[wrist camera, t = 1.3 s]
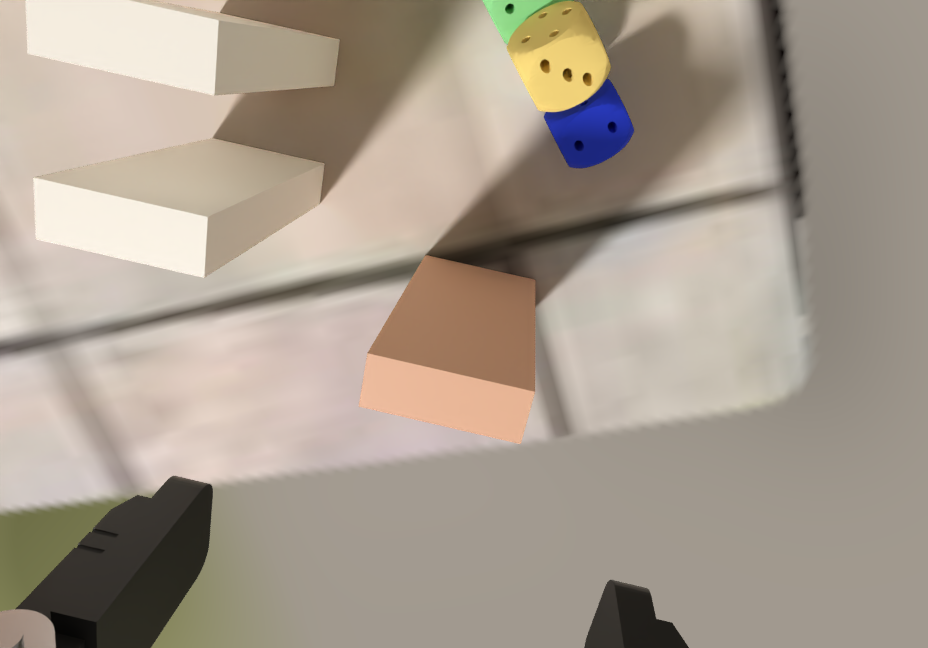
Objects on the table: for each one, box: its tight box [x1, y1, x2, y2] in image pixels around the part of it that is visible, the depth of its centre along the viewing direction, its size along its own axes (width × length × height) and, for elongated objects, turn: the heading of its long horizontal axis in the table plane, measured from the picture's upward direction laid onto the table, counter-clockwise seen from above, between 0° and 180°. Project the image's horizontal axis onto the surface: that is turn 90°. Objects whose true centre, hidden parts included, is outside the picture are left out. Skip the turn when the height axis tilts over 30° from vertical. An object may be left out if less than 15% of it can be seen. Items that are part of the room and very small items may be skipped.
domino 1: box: [25, 0, 340, 95], centre depth 22 cm, size 2×5×11 cm, turn 78°
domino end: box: [359, 255, 535, 444], centre depth 25 cm, size 2×5×11 cm, turn 78°
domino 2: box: [33, 138, 325, 278], centre depth 24 cm, size 2×5×11 cm, turn 79°
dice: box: [483, 0, 634, 168], centre depth 23 cm, size 8×3×6 cm, turn 30°
